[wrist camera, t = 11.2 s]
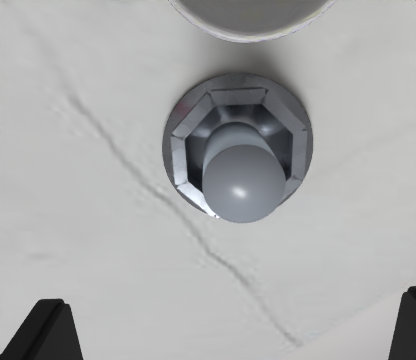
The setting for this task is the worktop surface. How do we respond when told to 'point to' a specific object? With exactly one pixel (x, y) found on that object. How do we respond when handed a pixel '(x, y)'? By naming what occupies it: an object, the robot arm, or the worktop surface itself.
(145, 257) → the worktop surface
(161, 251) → the worktop surface
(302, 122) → the faceted metallic bowl
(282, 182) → the grey domed cylinder
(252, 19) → the teacup
